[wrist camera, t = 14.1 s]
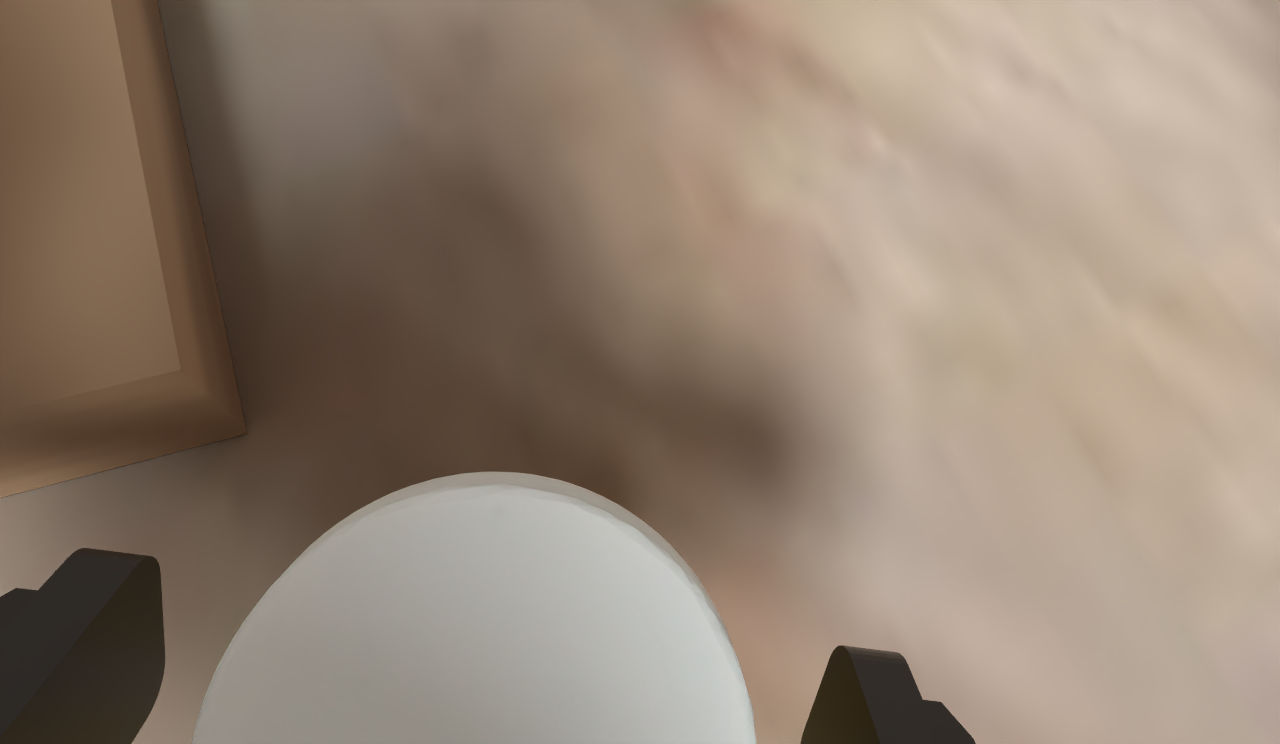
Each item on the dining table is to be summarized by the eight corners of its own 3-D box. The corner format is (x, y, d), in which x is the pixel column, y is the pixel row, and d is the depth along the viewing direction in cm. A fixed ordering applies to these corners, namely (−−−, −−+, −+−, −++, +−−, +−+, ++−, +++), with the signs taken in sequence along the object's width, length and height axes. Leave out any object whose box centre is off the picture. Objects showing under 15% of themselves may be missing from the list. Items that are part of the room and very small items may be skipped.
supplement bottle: (373, 533, 16) (200, 335, 7) (665, 571, 16) (861, 436, 7) (299, 870, 14) (-77, 1218, 5) (632, 903, 14) (843, 1269, 5)
